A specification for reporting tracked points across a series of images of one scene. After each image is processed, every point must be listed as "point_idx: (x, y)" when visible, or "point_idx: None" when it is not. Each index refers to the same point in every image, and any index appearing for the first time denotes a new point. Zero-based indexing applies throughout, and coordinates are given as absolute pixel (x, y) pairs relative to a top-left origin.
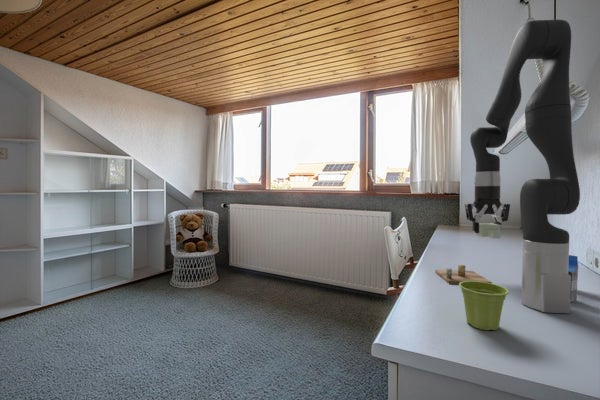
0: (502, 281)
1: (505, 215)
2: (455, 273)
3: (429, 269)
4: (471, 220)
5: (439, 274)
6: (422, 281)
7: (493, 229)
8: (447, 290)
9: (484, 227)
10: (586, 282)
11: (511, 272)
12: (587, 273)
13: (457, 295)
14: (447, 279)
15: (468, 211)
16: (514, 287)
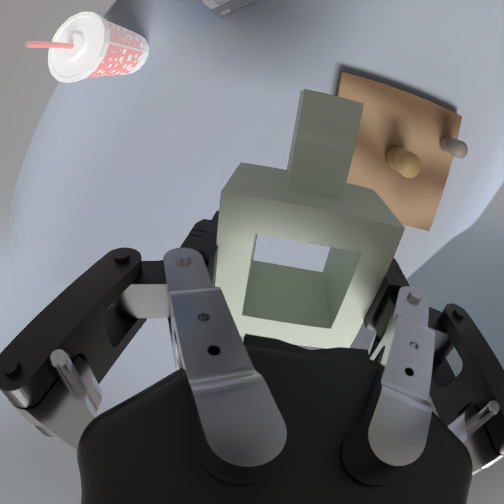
0: (270, 109)
1: (105, 286)
2: (397, 184)
3: (416, 262)
4: (451, 305)
5: (440, 192)
6: (499, 154)
7: (295, 188)
8: (482, 72)
9: (374, 212)
10: (48, 124)
11: (168, 211)
12: (18, 203)
13: (475, 36)
14: (458, 129)
15: (501, 371)
16: (275, 48)
